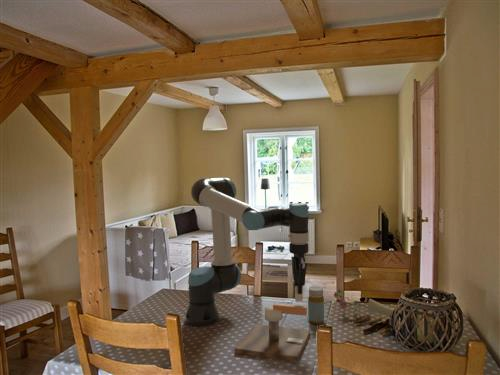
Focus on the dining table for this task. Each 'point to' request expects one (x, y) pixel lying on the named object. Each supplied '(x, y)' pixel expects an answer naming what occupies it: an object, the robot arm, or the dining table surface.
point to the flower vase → (371, 307)
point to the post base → (273, 342)
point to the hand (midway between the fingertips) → (298, 300)
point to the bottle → (316, 305)
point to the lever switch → (283, 311)
